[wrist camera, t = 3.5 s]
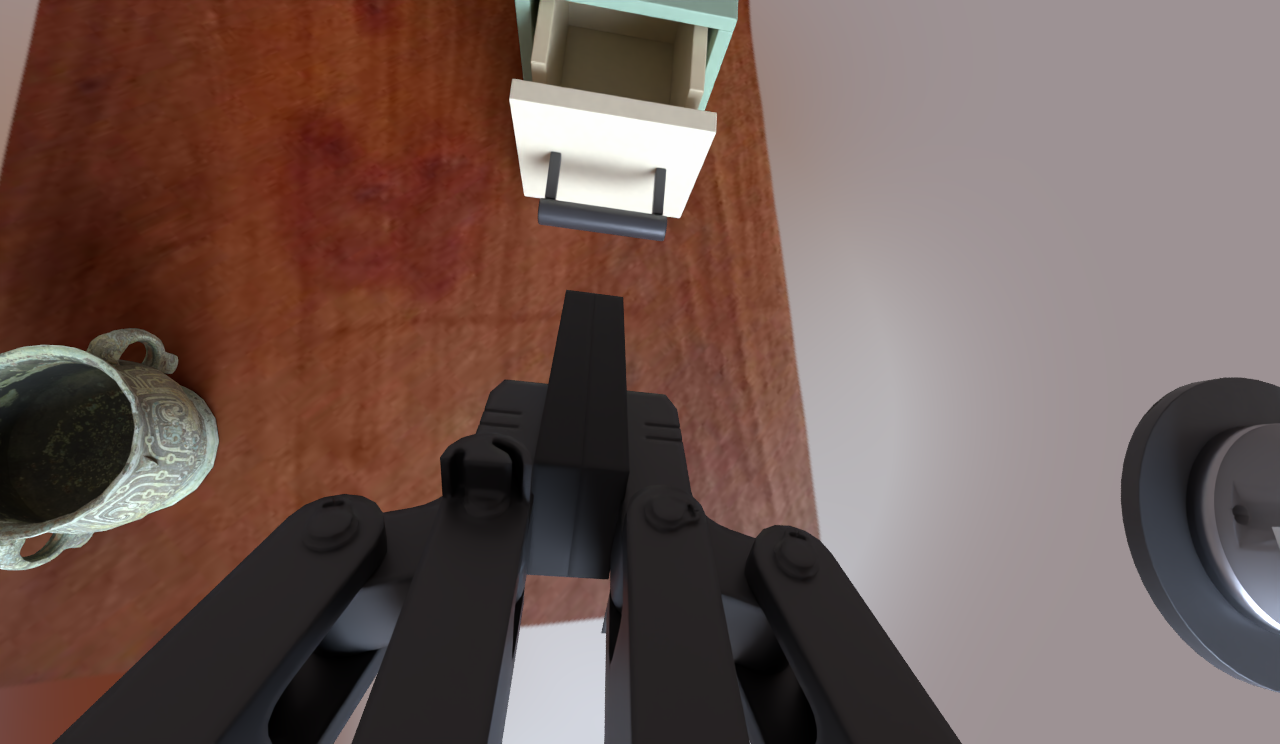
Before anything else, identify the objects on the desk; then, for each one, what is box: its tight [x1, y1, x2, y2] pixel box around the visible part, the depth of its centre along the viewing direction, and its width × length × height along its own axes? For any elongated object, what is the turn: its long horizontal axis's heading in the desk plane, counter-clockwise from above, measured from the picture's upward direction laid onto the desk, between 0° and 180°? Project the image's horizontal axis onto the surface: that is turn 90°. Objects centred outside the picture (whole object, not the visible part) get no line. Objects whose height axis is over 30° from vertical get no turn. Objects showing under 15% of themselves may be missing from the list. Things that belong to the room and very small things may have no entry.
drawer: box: [509, 0, 717, 241], centre depth 31 cm, size 18×10×9 cm, turn 175°
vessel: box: [0, 328, 219, 570], centre depth 25 cm, size 12×9×6 cm
